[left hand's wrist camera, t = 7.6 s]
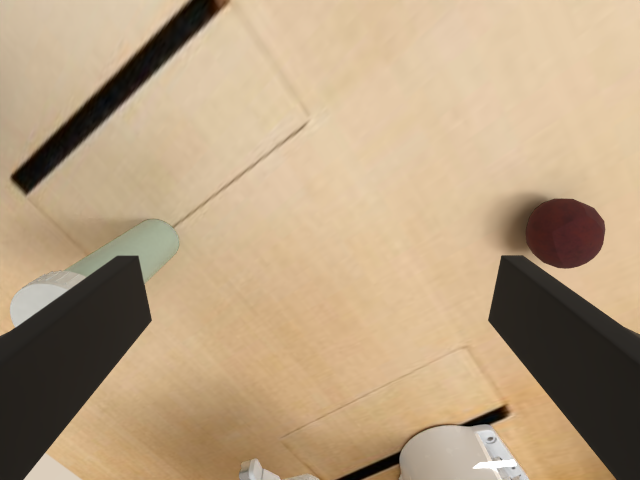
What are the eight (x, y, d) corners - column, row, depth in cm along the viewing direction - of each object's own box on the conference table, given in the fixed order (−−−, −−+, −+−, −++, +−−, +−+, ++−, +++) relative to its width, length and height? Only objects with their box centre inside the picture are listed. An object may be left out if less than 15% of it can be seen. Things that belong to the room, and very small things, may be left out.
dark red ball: (527, 262, 43) (564, 290, 36) (502, 213, 40) (538, 232, 34) (584, 232, 41) (634, 254, 35) (562, 178, 39) (612, 192, 32)
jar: (147, 210, 40) (36, 273, 25) (187, 235, 42) (105, 311, 26) (127, 244, 42) (11, 323, 26) (166, 267, 43) (77, 357, 27)
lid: (49, 254, 26) (26, 266, 24) (127, 298, 27) (111, 313, 25) (20, 312, 28) (-4, 328, 26) (94, 351, 29) (77, 369, 27)
